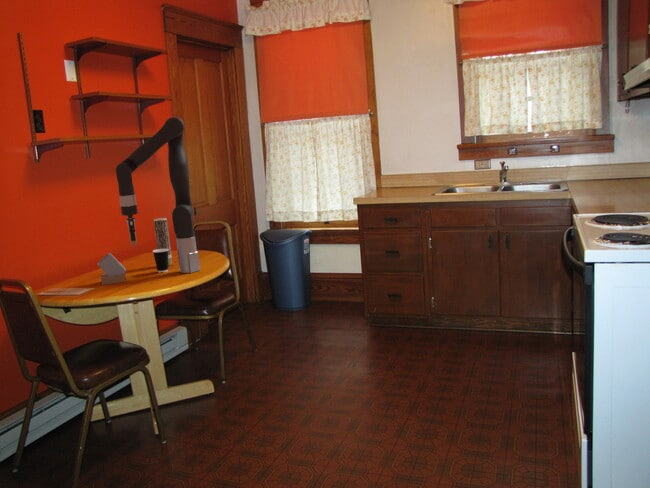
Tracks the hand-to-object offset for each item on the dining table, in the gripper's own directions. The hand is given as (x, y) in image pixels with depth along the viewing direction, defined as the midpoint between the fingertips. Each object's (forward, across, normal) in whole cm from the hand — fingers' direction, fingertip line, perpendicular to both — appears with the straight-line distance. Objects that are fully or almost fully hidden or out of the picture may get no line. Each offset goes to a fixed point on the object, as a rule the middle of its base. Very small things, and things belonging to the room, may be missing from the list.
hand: (133, 240), depth 299 cm
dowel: (+3, 0, 0) cm, 3 cm away
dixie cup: (+19, -8, +12) cm, 24 cm away
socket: (+19, 0, -12) cm, 22 cm away
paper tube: (+19, -23, +15) cm, 33 cm away
